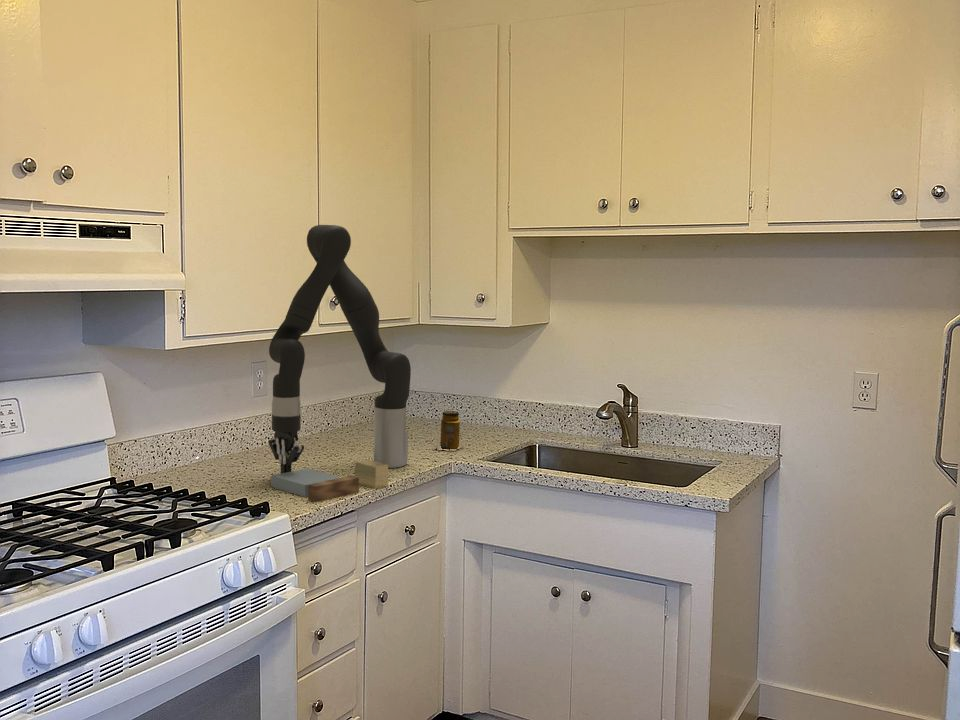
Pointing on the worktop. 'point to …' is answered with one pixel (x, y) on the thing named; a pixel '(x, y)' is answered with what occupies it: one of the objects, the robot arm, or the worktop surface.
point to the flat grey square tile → (299, 480)
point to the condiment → (450, 430)
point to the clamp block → (372, 473)
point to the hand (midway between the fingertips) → (285, 476)
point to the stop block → (333, 488)
